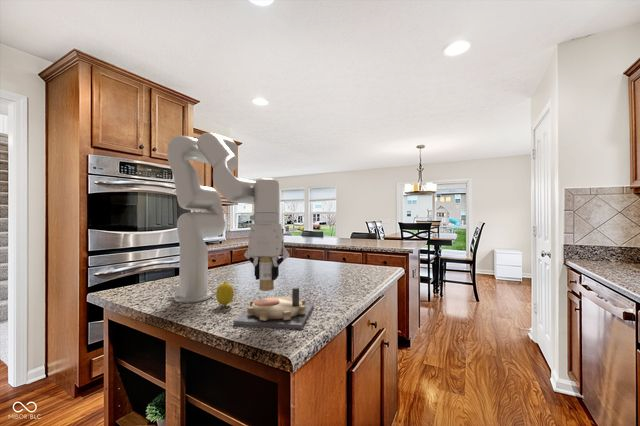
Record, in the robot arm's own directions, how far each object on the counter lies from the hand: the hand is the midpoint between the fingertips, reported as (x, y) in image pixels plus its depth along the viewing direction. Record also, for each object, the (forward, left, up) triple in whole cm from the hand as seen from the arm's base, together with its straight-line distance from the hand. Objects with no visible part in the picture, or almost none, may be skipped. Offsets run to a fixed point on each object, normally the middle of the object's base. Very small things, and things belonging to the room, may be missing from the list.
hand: (266, 278), depth 84 cm
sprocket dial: (+3, 0, -9) cm, 10 cm away
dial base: (+3, 0, -11) cm, 12 cm away
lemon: (-17, +6, -11) cm, 21 cm away
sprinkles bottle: (0, 0, -4) cm, 4 cm away
